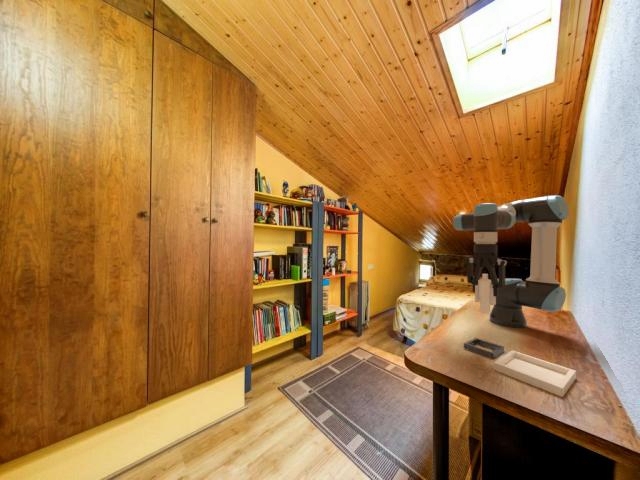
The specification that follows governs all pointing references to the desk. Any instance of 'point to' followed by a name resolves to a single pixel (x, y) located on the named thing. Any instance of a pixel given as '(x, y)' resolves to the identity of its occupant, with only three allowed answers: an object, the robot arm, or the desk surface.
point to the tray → (536, 372)
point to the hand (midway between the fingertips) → (485, 302)
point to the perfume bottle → (484, 293)
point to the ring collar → (493, 354)
